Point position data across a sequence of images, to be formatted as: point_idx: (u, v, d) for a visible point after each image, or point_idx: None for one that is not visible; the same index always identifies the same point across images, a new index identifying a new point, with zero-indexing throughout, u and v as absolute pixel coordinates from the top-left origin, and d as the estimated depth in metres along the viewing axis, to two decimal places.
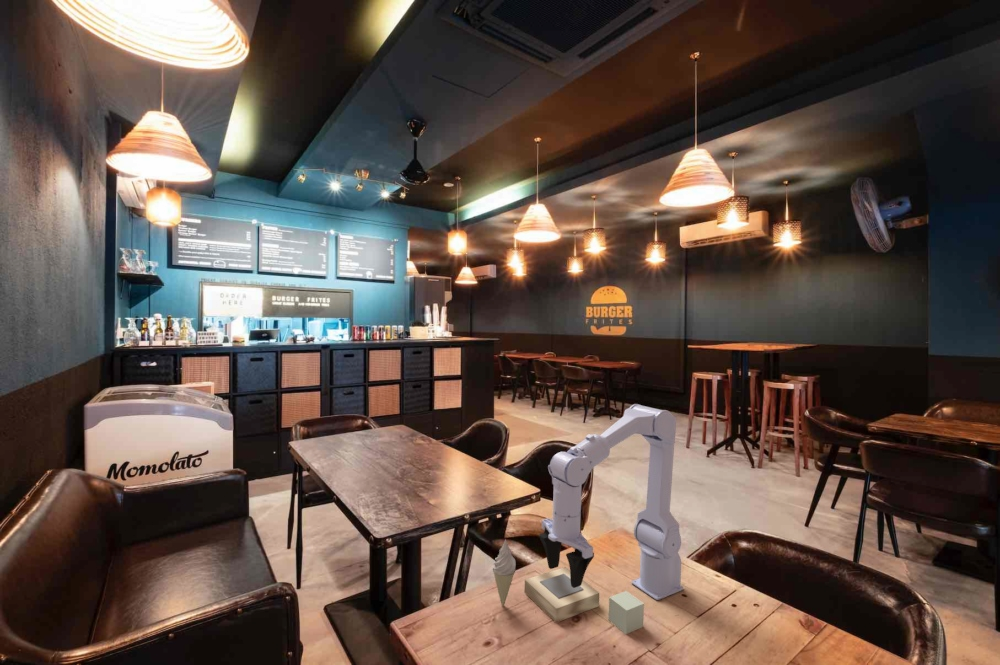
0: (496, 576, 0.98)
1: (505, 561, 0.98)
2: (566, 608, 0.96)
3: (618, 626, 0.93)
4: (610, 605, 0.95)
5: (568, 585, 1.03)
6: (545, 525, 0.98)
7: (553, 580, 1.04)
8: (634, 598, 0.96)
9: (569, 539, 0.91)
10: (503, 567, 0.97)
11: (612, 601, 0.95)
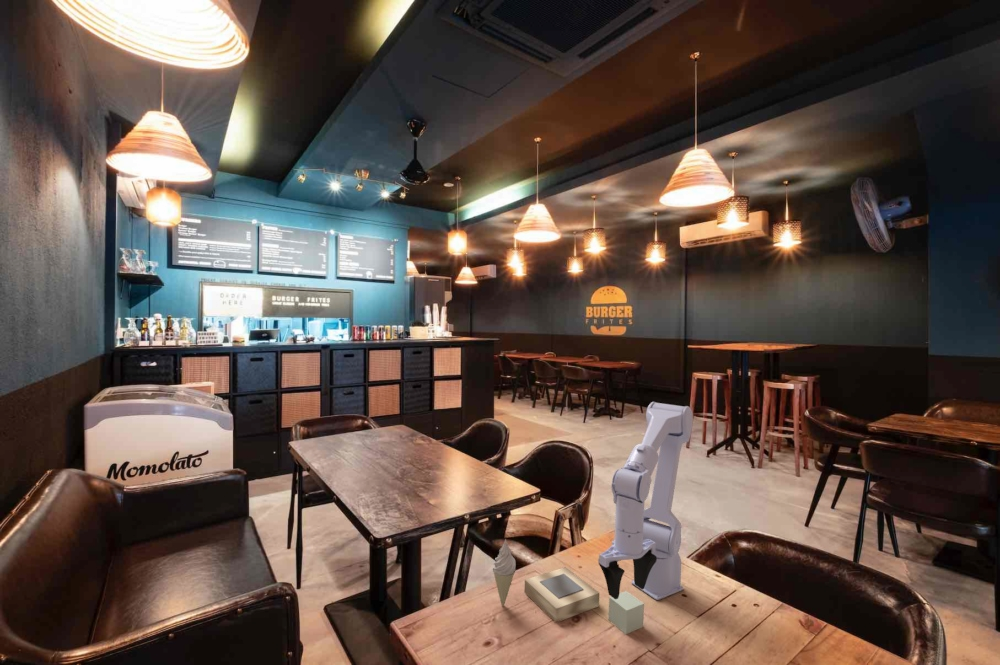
0: (496, 576, 0.98)
1: (505, 561, 0.98)
2: (566, 608, 0.96)
3: (618, 626, 0.93)
4: (610, 604, 0.95)
5: (568, 585, 1.03)
6: None
7: (553, 580, 1.04)
8: (634, 598, 0.96)
9: (614, 548, 0.94)
10: (503, 567, 0.97)
11: (612, 601, 0.95)
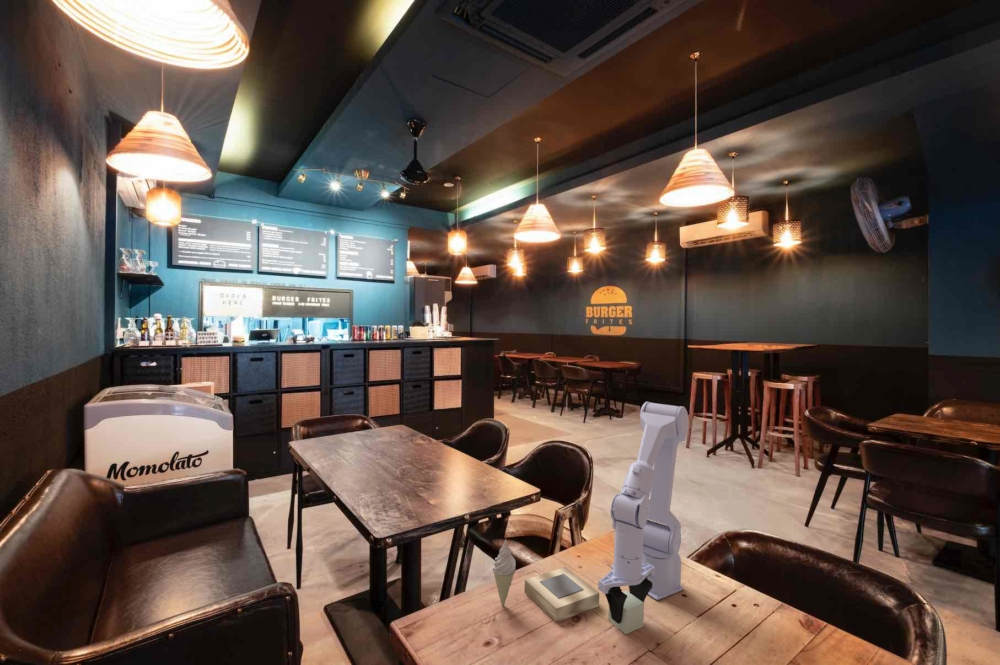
0: (496, 576, 0.98)
1: (505, 561, 0.98)
2: (566, 608, 0.96)
3: (618, 625, 0.93)
4: None
5: (568, 585, 1.03)
6: None
7: (553, 580, 1.04)
8: (634, 598, 0.96)
9: (613, 573, 0.94)
10: (503, 567, 0.97)
11: None
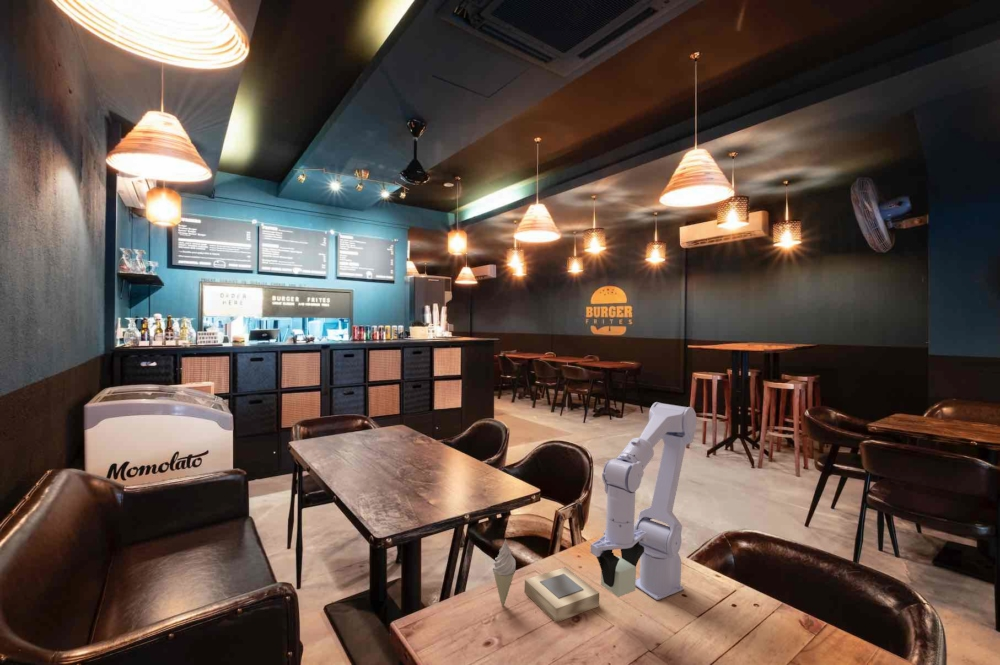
0: (496, 576, 0.98)
1: (505, 561, 0.98)
2: (566, 608, 0.96)
3: (610, 589, 0.94)
4: None
5: (568, 585, 1.03)
6: None
7: (553, 580, 1.04)
8: (626, 562, 0.96)
9: (606, 538, 0.95)
10: (503, 567, 0.97)
11: None
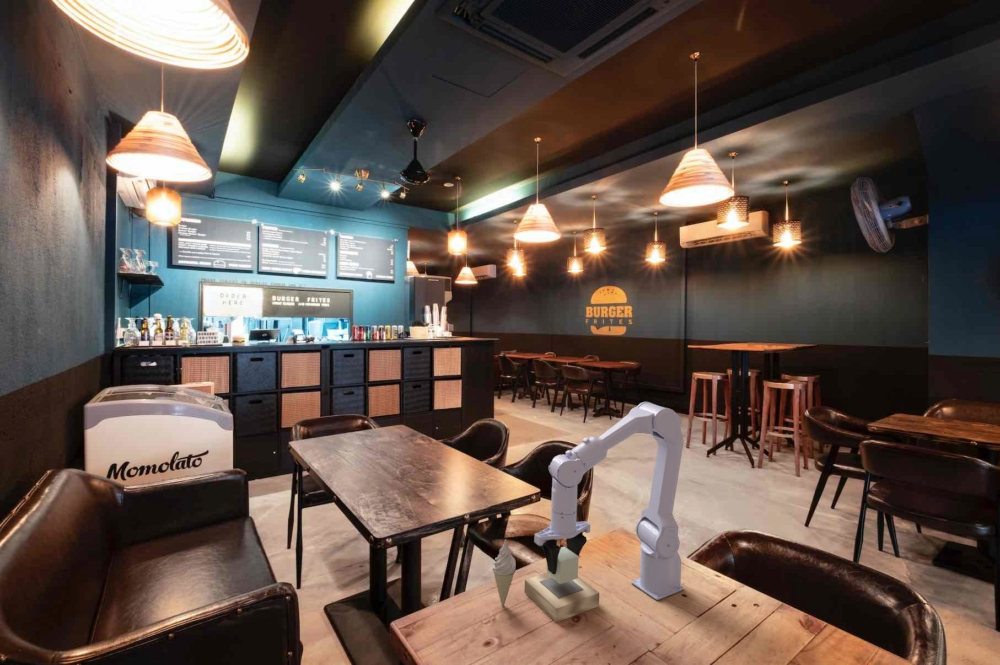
0: (496, 576, 0.98)
1: (505, 561, 0.98)
2: (566, 608, 0.96)
3: (554, 577, 1.01)
4: None
5: (568, 585, 1.03)
6: None
7: (553, 580, 1.04)
8: (570, 552, 1.03)
9: (550, 529, 1.02)
10: (503, 567, 0.97)
11: None
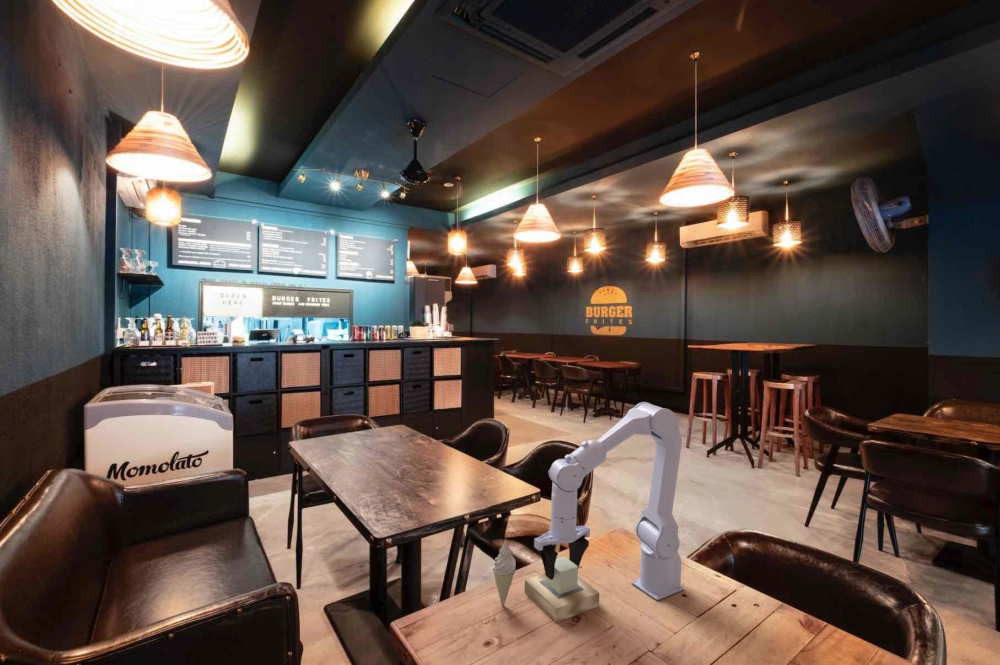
0: (496, 576, 0.98)
1: (505, 561, 0.98)
2: (566, 608, 0.96)
3: (553, 587, 1.01)
4: None
5: None
6: None
7: None
8: (570, 562, 1.03)
9: (550, 533, 1.02)
10: (503, 567, 0.97)
11: None
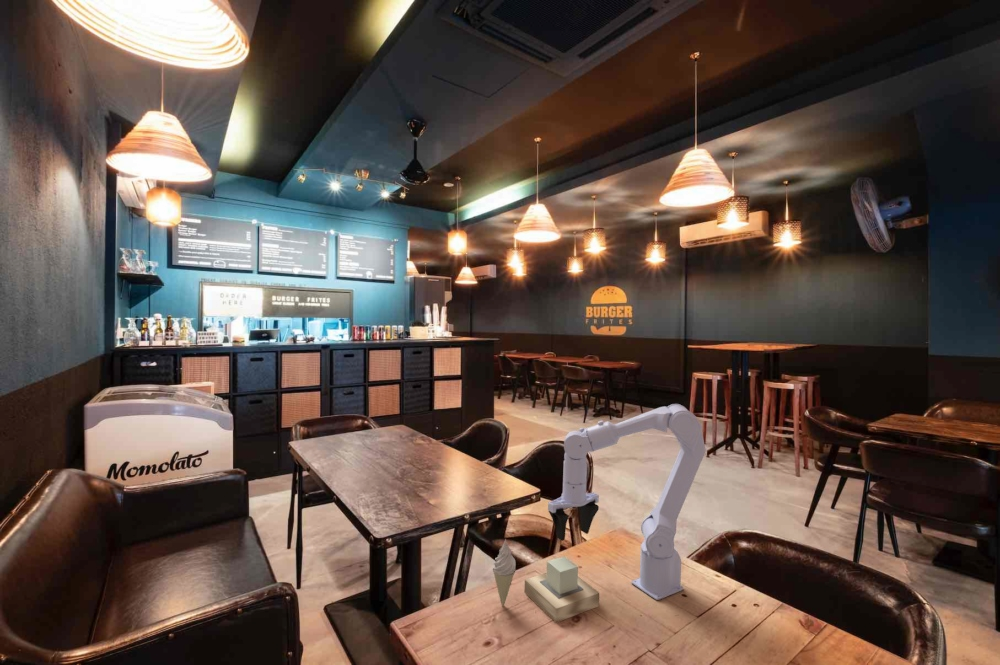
0: (496, 576, 0.98)
1: (505, 561, 0.98)
2: (566, 608, 0.96)
3: (553, 587, 1.01)
4: (548, 568, 1.03)
5: None
6: None
7: None
8: (570, 562, 1.03)
9: (562, 498, 1.11)
10: (503, 567, 0.97)
11: (549, 564, 1.02)
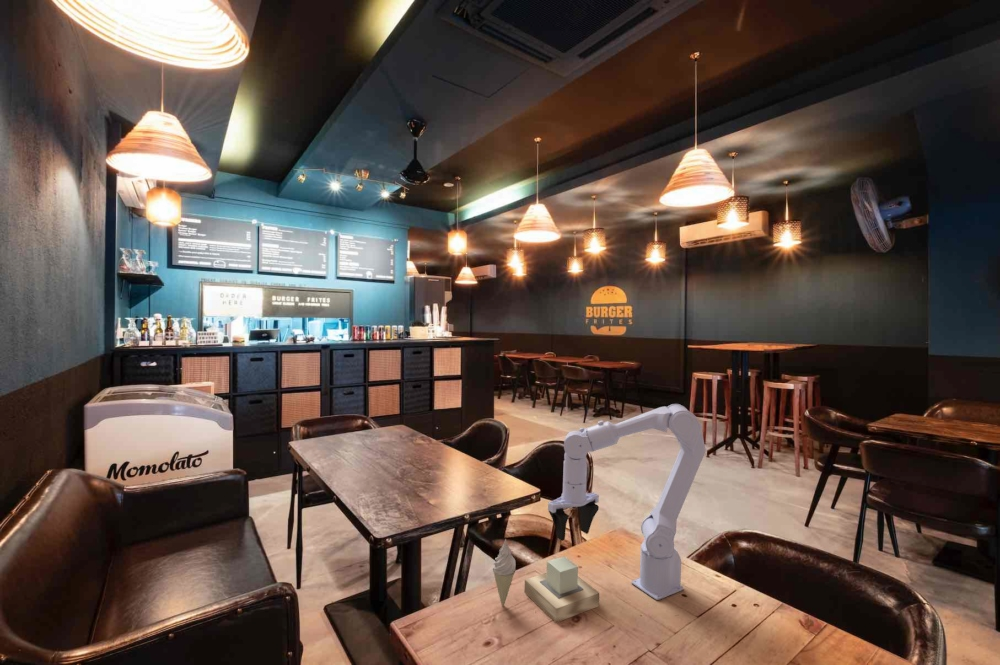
0: (496, 576, 0.98)
1: (505, 561, 0.98)
2: (566, 608, 0.96)
3: (553, 587, 1.01)
4: (548, 568, 1.03)
5: None
6: None
7: None
8: (570, 562, 1.03)
9: (562, 498, 1.11)
10: (503, 567, 0.97)
11: (549, 564, 1.02)
